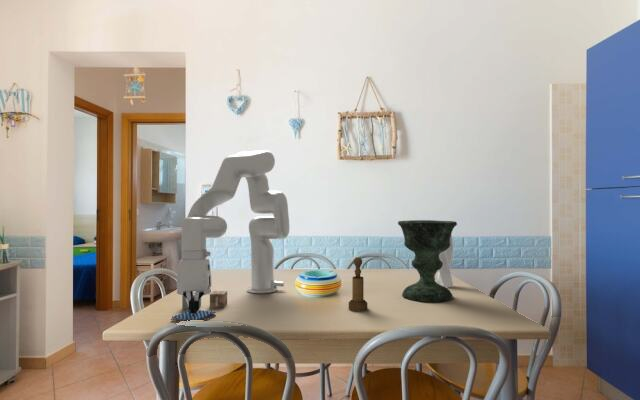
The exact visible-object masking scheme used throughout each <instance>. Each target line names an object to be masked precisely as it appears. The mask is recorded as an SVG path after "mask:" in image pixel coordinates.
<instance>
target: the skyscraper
mask: <svg viewBox="0 0 640 400" xmlns="http://www.w3.org/2000/svg"><path fill="white" fill-rule="evenodd" d="M453 254H454V245H453V236H452V234H451V237H450V247H449V248H448V249H447V250H445V251H443V252H441V253H440V254H439V259H440V261H442V263H443V265H442V268H441V269H440V270H438V271H437V276H436V277H437V278H436V277H435V276H434V280H435V282H436V283H437V284H439V285H441V286H444V287H449V288H453V287H454V284H453V279H452V274H451V270H450V269H451V266H452V262H453V261H452V260H453V256H454V255H453ZM452 286H453V287H452Z"/></svg>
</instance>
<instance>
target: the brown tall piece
mask: <svg viewBox="0 0 640 400" xmlns="http://www.w3.org/2000/svg"><path fill="white" fill-rule="evenodd" d="M353 264H354V266H355V269H354V276H352V277H351V278H352V279H351V280H352V281H351V282H352V287H351V289H352V295H351V296H352V297H351V298H352V299H351V300H349V301H348V310H349V311H351V312H366V311H368V307H369V306H368V302H367V301H366V300H365V299H364V297H365V296H364V276H361V274H362V269H361V266H362V264H363V259H362V258H361V257H355V258H354V259H353Z"/></svg>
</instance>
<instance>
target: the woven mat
mask: <svg viewBox="0 0 640 400" xmlns="http://www.w3.org/2000/svg"><path fill="white" fill-rule="evenodd" d="M216 313H217V312H216V311H212V310H210V311H209V310H201V309H199V310H198V311H197V312H196V313H192V314H190V310H185V312H181V313H178V314H176V315H174V316H171V318H170V322H172V321H173V323H176V322H178V323H179V321H187V320H188V321H190V320H206V321H208V320H209V319H208V318H210V319H212V318H214V317H216V316H217V314H216ZM213 316H214V317H213ZM211 317H212V318H211Z"/></svg>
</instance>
